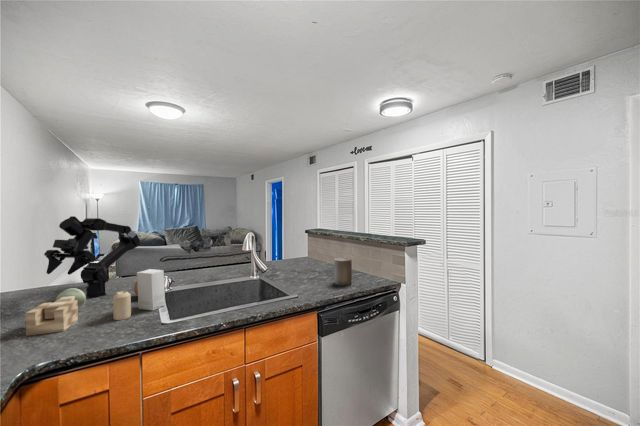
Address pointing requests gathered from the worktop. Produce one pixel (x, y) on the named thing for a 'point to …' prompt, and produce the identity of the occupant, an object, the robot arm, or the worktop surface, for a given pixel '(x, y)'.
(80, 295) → the plunger
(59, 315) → the block
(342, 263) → the pillar candle
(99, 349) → the worktop surface
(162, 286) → the skincare box
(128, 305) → the candle
